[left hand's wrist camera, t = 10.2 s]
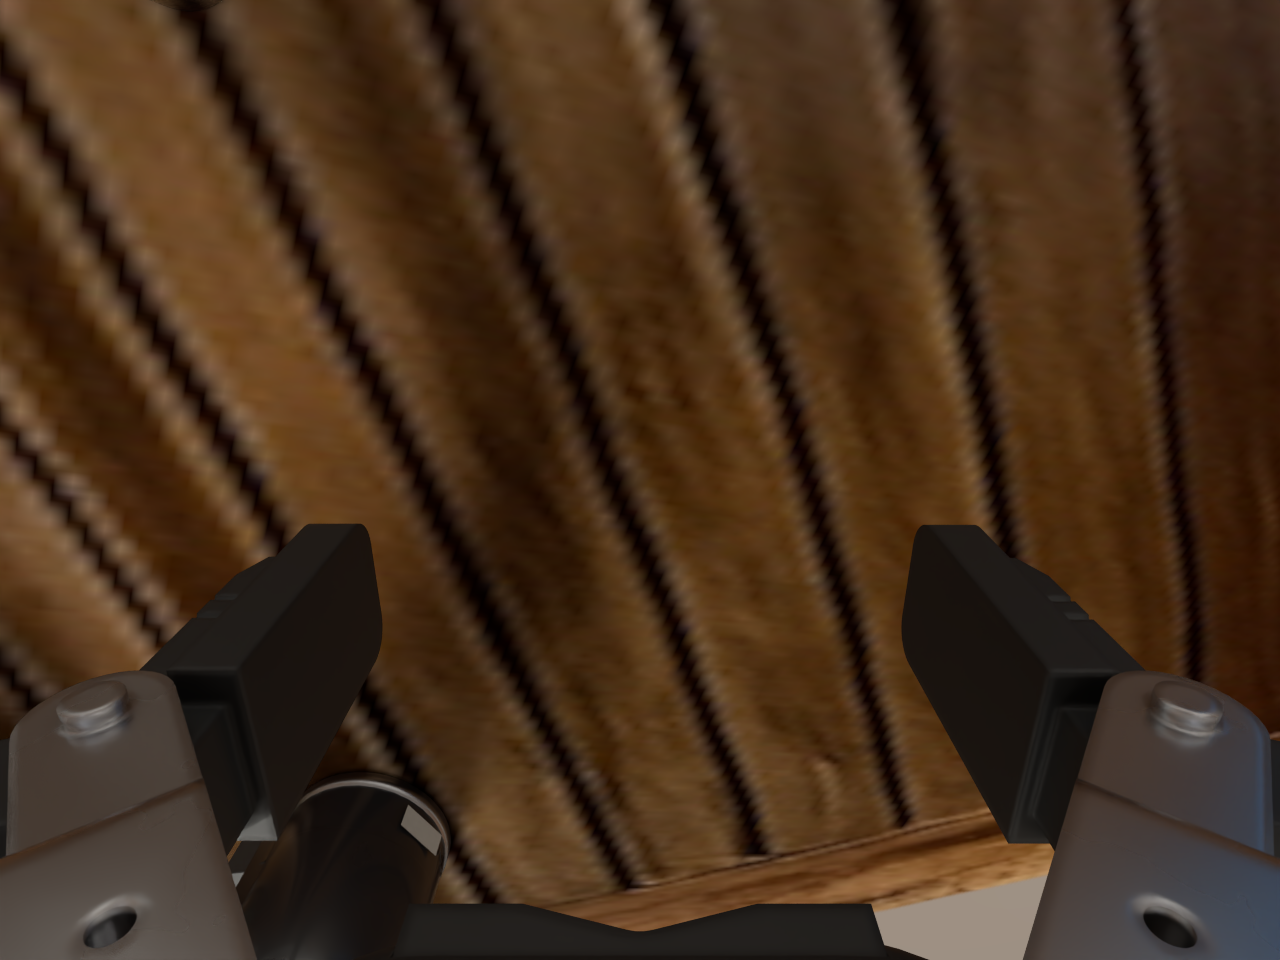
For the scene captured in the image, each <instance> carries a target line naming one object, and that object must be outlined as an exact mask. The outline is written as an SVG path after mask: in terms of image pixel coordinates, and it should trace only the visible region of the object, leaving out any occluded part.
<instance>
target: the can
mask: <svg viewBox="0 0 1280 960" xmlns="http://www.w3.org/2000/svg"><path fill="white" fill-rule="evenodd" d="M151 1H154V2H156V3H159V4H161V5H164V6H167V7H170V8H173V9H176V10H181V11H200V10H204V9H207V8H210V7H212V6H214V5H216V4H217V3H219V2H220V1H222V0H151Z"/></svg>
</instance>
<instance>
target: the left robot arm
mask: <svg viewBox="0 0 1280 960" xmlns="http://www.w3.org/2000/svg"><path fill="white" fill-rule="evenodd" d="M381 640H382V614H381V608H380V601H379V594H378V588H377V581H376V574H375V568H374V561H373V554H372V548H371V542H370V537H369V534H368V531H367V529H366V528H365V526H364V525H362V524H308V525H306V526H305V527H304V528H303V529H302V530H301V531H300V532H299V533H298V534H297V535H296V536H295V537H294V538H293V539H292V540H291V541H290V542H289V543H288V544H287V545H286V546H285V547H284V548H283V549H282V550H281V551H280V553H279V554H278V555H277V556H276V557H268V558H266V559H264V560H262V561H261V562H259V563H257V564H255V565H253V566H251V567H250V568H248V569H246V570H244V571H242V572H240V573H239V574H237V575H236V576H235V577H234V578H233V579H231V580H230V581H229V582H228V583H227V584H226V585H225V586H224V587H223V588H222V589H221V590H220V591H219V592H218V593H217V594H216V595H215V600H210V601H209V602H208V603H207V604H206V605H205V606H204V607H203V608H202V609H201V610H200V611H199V612H198V613H197V618H192V619H191V620H190V621H189V622H188V623H187V624H186V625H185V626H184V627H183V628H182V629H181V630H180V631H179V632H178V633H177V634H176V635H175V636H174V637H173V638H172V639H171V640H170V641H169V642H167V643H166V644H165V645H164V646H163V647H162V648H161V649H160V650H159V651H158V652H157V653H156V654H155V655H154V656H153V657H152V658H151V659H150V660H149V661H148V662H147V663H146V664H145V665H144V666H143V667H142V668H141V669H140V670H139V671H126V672H118V673H113V674H108V675H104V676H100V677H96V678H93V679H90V680H87V681H84V682H81V683H78V684H76V685H74V686H71V687H69V688H67V689H64V690H62V691H60V692H58V693H57V694H55V695H53V696H51V697H49V698H48V699H46V700H44V701H43V702H41V703H40V704H38V705H37V706H36V707H34V708H33V709H32V710H30V711H29V712H28V713H27V714H26V715H25V716H24V717H23V718H22V719H21V720H20V721H19V722H18V724H17V725H16V726H15V728H14V729H13V731H12V733H11V736H10V738H9V739H4V740H0V960H928V959H925V958H922V957H920V956H917V955H914V954H911V953H908V952H906V951H903V950H900V949H897V948H893V947H889V946H885V945H884V943H883V940H882V937H881V934H880V931H879V927H878V924H877V921H876V918H875V915H874V912H873V909H872V905H871V904H755V905H751V906H747V907H743V908H739V909H735V910H731V911H727V912H723V913H719V914H715V915H711V916H707V917H703V918H699V919H695V920H691V921H687V922H683V923H679V924H675V925H671V926H667V927H663V928H659V929H655V930H650V931H630V930H625V929H621V928H617V927H613V926H609V925H605V924H601V923H597V922H593V921H589V920H585V919H581V918H577V917H573V916H569V915H565V914H561V913H557V912H553V911H549V910H545V909H541V908H537V907H533V906H529V905H525V904H433V901H434V897H435V894H436V890H437V887H438V883H439V880H440V877H441V875H442V873H443V870H444V868H445V865H446V861H447V858H448V854H449V851H450V845H451V835H450V829H449V825H448V823H447V820H446V818H445V816H444V814H443V813H442V811H441V810H440V808H439V807H438V806H437V805H436V803H435V802H434V801H433V800H432V799H431V798H430V797H429V796H427V795H426V794H425V793H424V792H422V791H421V790H419V789H418V788H416V787H414V786H413V785H411V784H409V783H407V782H405V781H402V780H400V779H397V778H394V777H391V776H387V775H383V774H378V773H369V772H352V773H344V774H338V775H335V776H331V777H328V778H326V779H323V780H321V781H319V782H317V783H316V784H314V785H312V786H311V787H310V788H308V789H307V790H306V788H307V786H308V784H309V782H310V780H311V779H312V777H313V775H314V773H315V771H316V769H317V768H318V766H319V764H320V762H321V760H322V758H323V757H324V755H325V753H326V751H327V749H328V748H329V746H330V744H331V742H332V740H333V738H334V737H335V735H336V733H337V731H338V729H339V727H340V726H341V724H342V722H343V720H344V718H345V716H346V715H347V713H348V711H349V709H350V707H351V705H352V704H353V702H354V700H355V698H356V696H357V694H358V693H359V691H360V689H361V687H362V685H363V683H364V682H365V680H366V678H367V676H368V674H369V672H370V671H371V669H372V667H373V665H374V663H375V661H376V659H377V657H378V654H379V650H380V646H381ZM902 641H903V647H904V652H905V655H906V658H907V661H908V663H909V665H910V666H911V668H912V670H913V672H914V674H915V676H916V677H917V679H918V681H919V683H920V685H921V686H922V688H923V690H924V692H925V694H926V695H927V697H928V699H929V701H930V703H931V704H932V706H933V708H934V710H935V712H936V713H937V715H938V717H939V719H940V721H941V723H942V724H943V726H944V728H945V730H946V732H947V733H948V735H949V737H950V739H951V741H952V742H953V744H954V746H955V748H956V750H957V751H958V753H959V755H960V757H961V759H962V760H963V762H964V764H965V766H966V768H967V770H968V771H969V773H970V775H971V777H972V779H973V780H974V782H975V784H976V786H977V788H978V789H979V791H980V793H981V795H982V797H983V798H984V800H985V802H986V804H987V806H988V807H989V809H990V811H991V813H992V815H993V817H994V818H995V820H996V822H997V824H998V826H999V827H1000V829H1001V831H1002V833H1003V835H1004V836H1005V838H1006V840H1007V842H1008V843H1050V844H1051V846H1052V848H1053V849H1054V851H1055V853H1054V856H1053V860H1052V863H1051V866H1050V870H1049V873H1048V876H1047V880H1046V883H1045V887H1044V890H1043V893H1042V897H1041V900H1040V903H1039V907H1038V910H1037V914H1036V917H1035V920H1034V924H1033V927H1032V931H1031V934H1030V937H1029V941H1028V944H1027V947H1026V951H1025V954H1024V958H1023V960H1280V741H1276V740H1271V739H1270V736H1269V733H1268V731H1267V729H1266V728H1265V726H1264V725H1263V724H1262V722H1261V721H1260V720H1259V719H1258V718H1257V717H1256V716H1255V715H1254V714H1253V713H1252V712H1251V711H1250V710H1248V709H1247V708H1246V707H1244V706H1243V705H1242V704H1240V703H1239V702H1237V701H1236V700H1234V699H1232V698H1231V697H1229V696H1227V695H1225V694H1223V693H1222V692H1220V691H1218V690H1216V689H1213V688H1211V687H1209V686H1206V685H1204V684H1202V683H1199V682H1196V681H1193V680H1190V679H1187V678H1184V677H1180V676H1176V675H1172V674H1167V673H1162V672H1154V671H1146V670H1144V669H1143V668H1142V667H1141V666H1140V665H1139V664H1138V663H1137V662H1136V661H1135V660H1134V659H1133V658H1132V657H1131V656H1130V655H1129V654H1128V653H1127V652H1126V651H1125V650H1124V649H1123V648H1122V647H1121V646H1120V645H1119V644H1118V643H1117V642H1116V641H1115V640H1114V639H1113V638H1112V637H1111V636H1110V635H1109V634H1108V633H1107V632H1106V631H1104V630H1103V629H1102V628H1101V627H1100V626H1099V625H1098V624H1097V623H1096V622H1095V621H1094V620H1089V615H1088V614H1087V613H1086V612H1085V611H1084V610H1083V609H1082V608H1081V607H1080V606H1079V605H1078V604H1077V603H1076V602H1071V600H1070V596H1069V595H1068V594H1067V593H1066V592H1065V591H1063V590H1062V589H1061V588H1060V587H1059V586H1058V585H1057V584H1056V583H1055V582H1054V581H1053V580H1052V579H1051V578H1050V577H1049V576H1048V575H1046V574H1044V573H1042V572H1040V571H1038V570H1037V569H1035V568H1033V567H1031V566H1029V565H1027V564H1026V563H1024V562H1022V561H1020V560H1018V559H1016V558H1009V557H1008V556H1007V555H1006V554H1005V553H1004V552H1003V551H1002V550H1001V549H1000V548H999V547H998V546H997V545H996V543H995V542H994V541H993V540H992V539H991V538H990V537H989V536H988V535H987V534H986V533H985V532H984V531H983V530H982V529H981V528H980V527H979V526H976V525H922V526H921V527H920V528H919V529H918V531H917V533H916V535H915V539H914V544H913V550H912V556H911V563H910V570H909V576H908V583H907V589H906V596H905V602H904V609H903V615H902ZM305 790H306V791H305ZM304 791H305V792H304ZM236 841H242V842H241V843H240V845H239V847H238V848H237V850H236V852H235V853H234V855H233V857H232V858H231V860H230V862H229V863H228V860H227V855H228V854H229V852H230V851H231V849H232V847H233V846H234V844H235V842H236Z"/></svg>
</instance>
